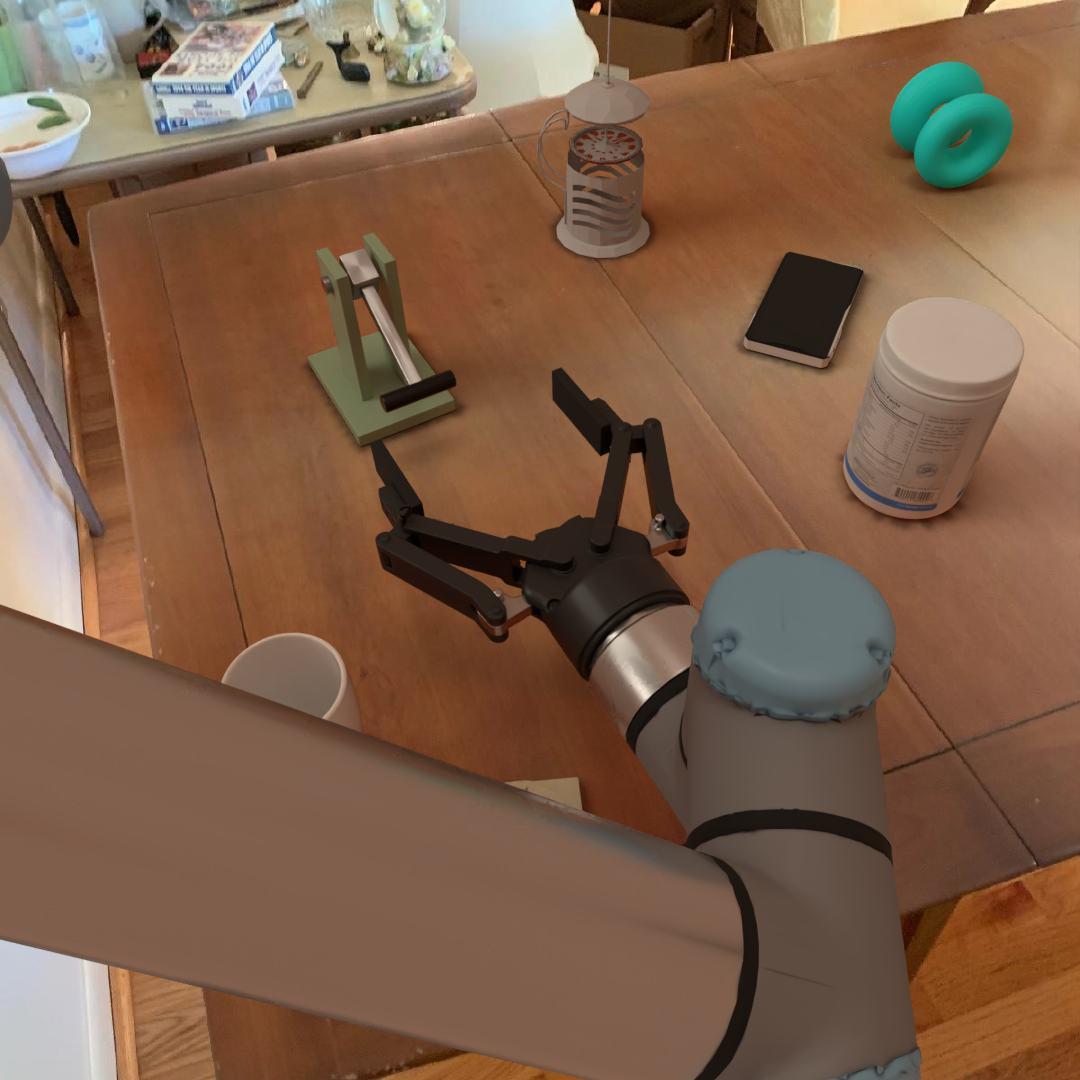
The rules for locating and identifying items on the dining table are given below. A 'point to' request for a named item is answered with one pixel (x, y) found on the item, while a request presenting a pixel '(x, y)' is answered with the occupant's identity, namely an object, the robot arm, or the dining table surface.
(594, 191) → the french press
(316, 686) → the drinking glass
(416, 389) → the lever
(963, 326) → the supplement tub
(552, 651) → the dining table surface
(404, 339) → the bracket
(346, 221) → the dining table surface
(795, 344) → the smartphone
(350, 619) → the dining table surface
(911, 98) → the donuts
